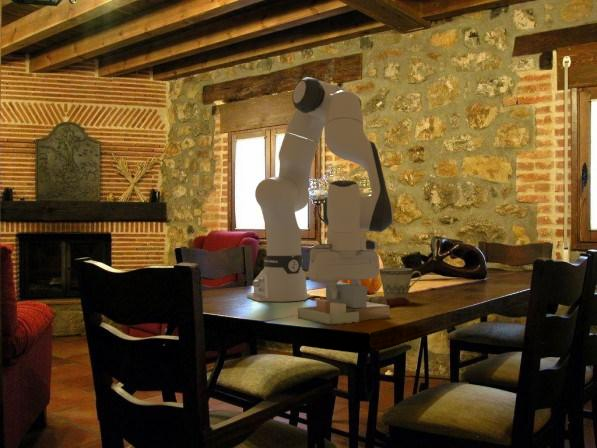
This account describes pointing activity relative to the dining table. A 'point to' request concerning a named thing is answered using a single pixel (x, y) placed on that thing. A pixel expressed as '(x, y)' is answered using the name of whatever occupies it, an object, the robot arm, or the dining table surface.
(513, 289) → the dining table surface
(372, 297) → the gavel
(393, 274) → the ceramic cup
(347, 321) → the tray
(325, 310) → the tile
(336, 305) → the tile
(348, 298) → the small grey box
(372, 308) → the pale flat square block
